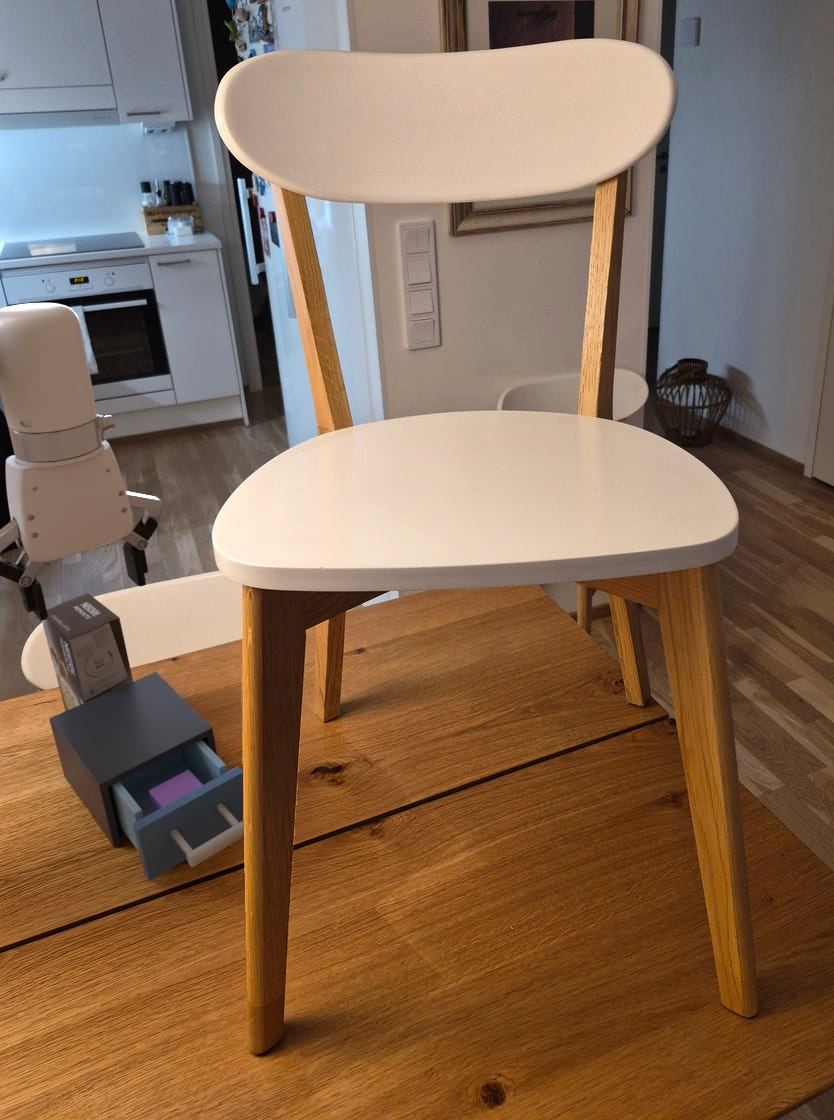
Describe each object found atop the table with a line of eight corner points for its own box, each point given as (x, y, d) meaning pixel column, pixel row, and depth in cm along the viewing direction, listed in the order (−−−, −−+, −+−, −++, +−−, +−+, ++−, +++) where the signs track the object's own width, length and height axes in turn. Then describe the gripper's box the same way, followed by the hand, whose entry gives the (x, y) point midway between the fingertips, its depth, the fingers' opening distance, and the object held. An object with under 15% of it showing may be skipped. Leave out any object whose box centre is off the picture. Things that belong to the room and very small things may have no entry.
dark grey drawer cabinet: (222, 787, 98) (212, 727, 95) (114, 847, 90) (98, 784, 87) (167, 727, 108) (155, 671, 104) (64, 777, 100) (48, 718, 97)
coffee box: (145, 725, 108) (122, 617, 102) (95, 751, 104) (69, 640, 98) (112, 695, 114) (88, 591, 108) (63, 718, 110) (36, 611, 103)
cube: (174, 847, 88) (167, 813, 86) (155, 823, 91) (148, 790, 89) (214, 823, 90) (208, 790, 89) (194, 801, 93) (188, 769, 92)
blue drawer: (276, 848, 89) (269, 797, 86) (172, 913, 82) (161, 861, 79) (193, 758, 101) (185, 712, 99) (97, 808, 94) (85, 760, 91)
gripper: (133, 410, 88) (158, 557, 94) (-57, 450, 77) (-14, 613, 84) (163, 428, 82) (187, 582, 89) (-36, 474, 72) (8, 645, 78)
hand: (90, 597), depth 86 cm, fingers open, 9 cm apart
